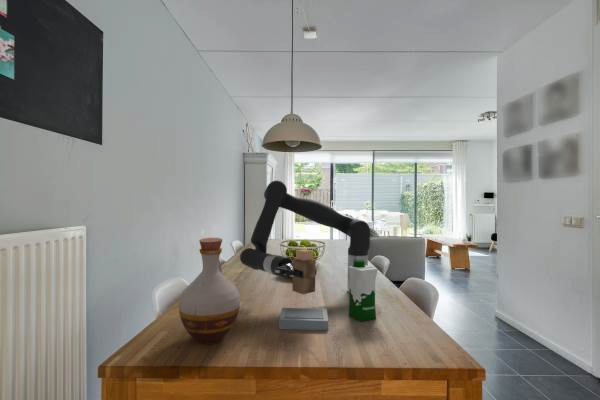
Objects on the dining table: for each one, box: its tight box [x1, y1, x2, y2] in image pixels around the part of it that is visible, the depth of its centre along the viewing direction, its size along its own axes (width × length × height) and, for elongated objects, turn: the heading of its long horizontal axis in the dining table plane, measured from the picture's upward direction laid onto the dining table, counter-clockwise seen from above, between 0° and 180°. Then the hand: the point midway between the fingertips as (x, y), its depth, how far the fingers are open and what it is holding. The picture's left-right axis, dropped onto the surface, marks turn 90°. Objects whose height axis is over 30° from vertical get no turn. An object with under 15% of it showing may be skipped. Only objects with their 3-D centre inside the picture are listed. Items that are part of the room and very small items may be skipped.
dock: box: [278, 307, 329, 331], centre depth 112 cm, size 16×12×3 cm
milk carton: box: [347, 260, 378, 322], centre depth 119 cm, size 9×9×20 cm
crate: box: [291, 257, 317, 295], centre depth 113 cm, size 6×6×11 cm
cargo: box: [295, 248, 314, 261], centre depth 113 cm, size 4×4×3 cm
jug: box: [178, 237, 241, 345], centre depth 99 cm, size 20×18×30 cm
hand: (309, 273), depth 111 cm, fingers closed on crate, 5 cm apart
